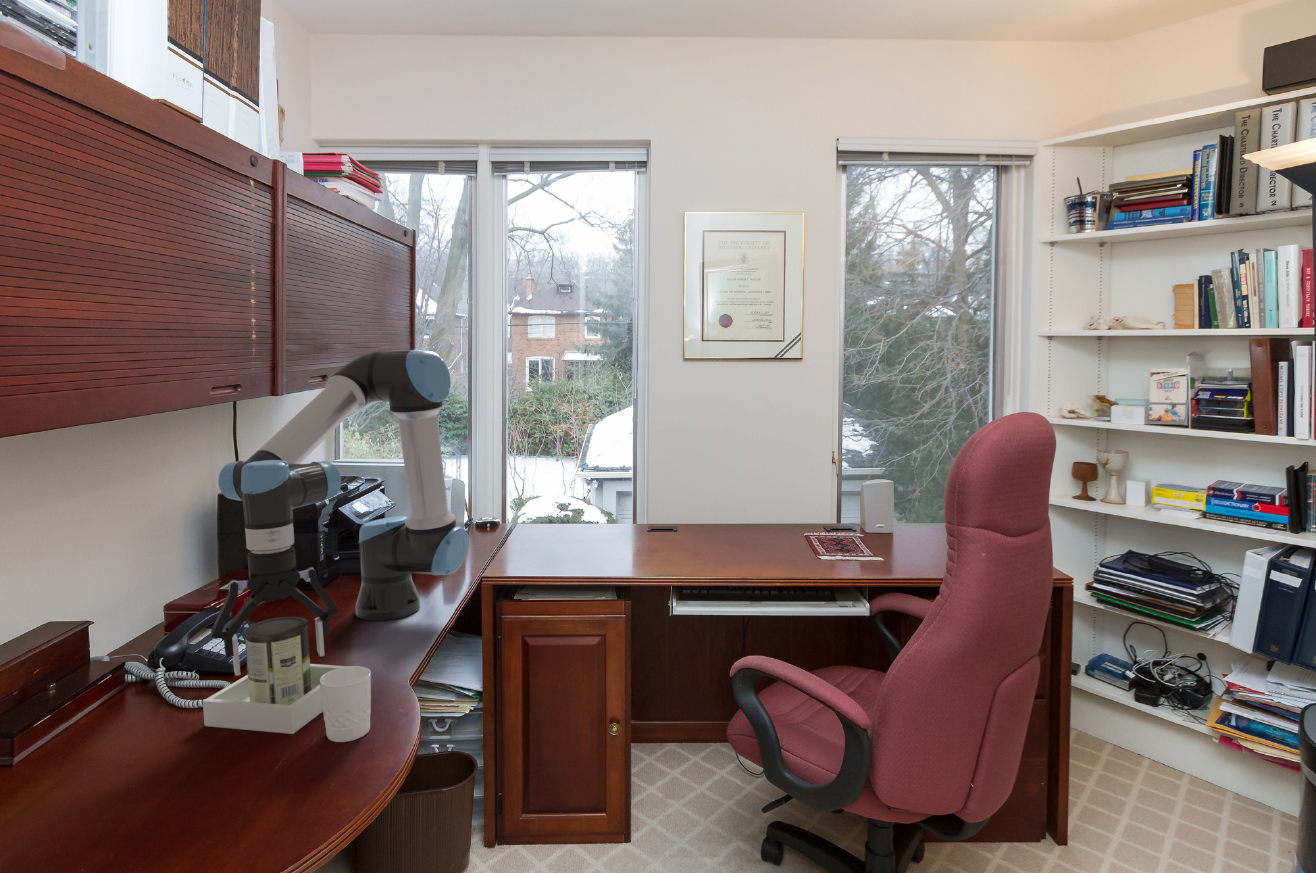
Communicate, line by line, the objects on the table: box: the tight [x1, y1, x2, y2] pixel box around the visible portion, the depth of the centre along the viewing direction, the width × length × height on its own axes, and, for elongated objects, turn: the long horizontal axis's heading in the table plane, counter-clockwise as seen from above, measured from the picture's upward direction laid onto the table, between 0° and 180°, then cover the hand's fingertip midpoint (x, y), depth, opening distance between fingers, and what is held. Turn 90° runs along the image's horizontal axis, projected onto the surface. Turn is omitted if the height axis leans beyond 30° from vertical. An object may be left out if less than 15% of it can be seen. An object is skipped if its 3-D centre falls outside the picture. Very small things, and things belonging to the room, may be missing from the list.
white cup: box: [320, 665, 372, 743], centre depth 125 cm, size 8×8×10 cm
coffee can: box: [243, 616, 312, 705], centre depth 134 cm, size 10×10×14 cm
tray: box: [202, 663, 349, 735], centre depth 134 cm, size 17×17×4 cm
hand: (280, 663), depth 134 cm, fingers open, 13 cm apart
